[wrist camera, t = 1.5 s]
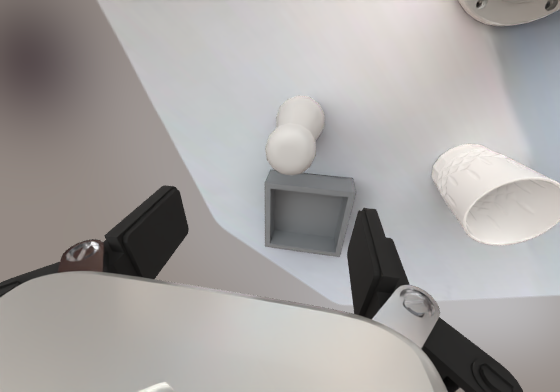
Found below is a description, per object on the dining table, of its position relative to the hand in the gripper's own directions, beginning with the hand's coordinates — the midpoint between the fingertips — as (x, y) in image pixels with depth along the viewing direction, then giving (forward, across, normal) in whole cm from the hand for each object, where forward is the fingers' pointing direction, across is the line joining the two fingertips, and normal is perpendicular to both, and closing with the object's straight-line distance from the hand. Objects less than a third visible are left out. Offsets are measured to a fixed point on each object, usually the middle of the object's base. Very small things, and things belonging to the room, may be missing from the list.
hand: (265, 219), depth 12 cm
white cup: (+21, -21, +5) cm, 30 cm away
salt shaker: (+21, 0, 0) cm, 21 cm away
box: (+21, -2, +14) cm, 25 cm away
